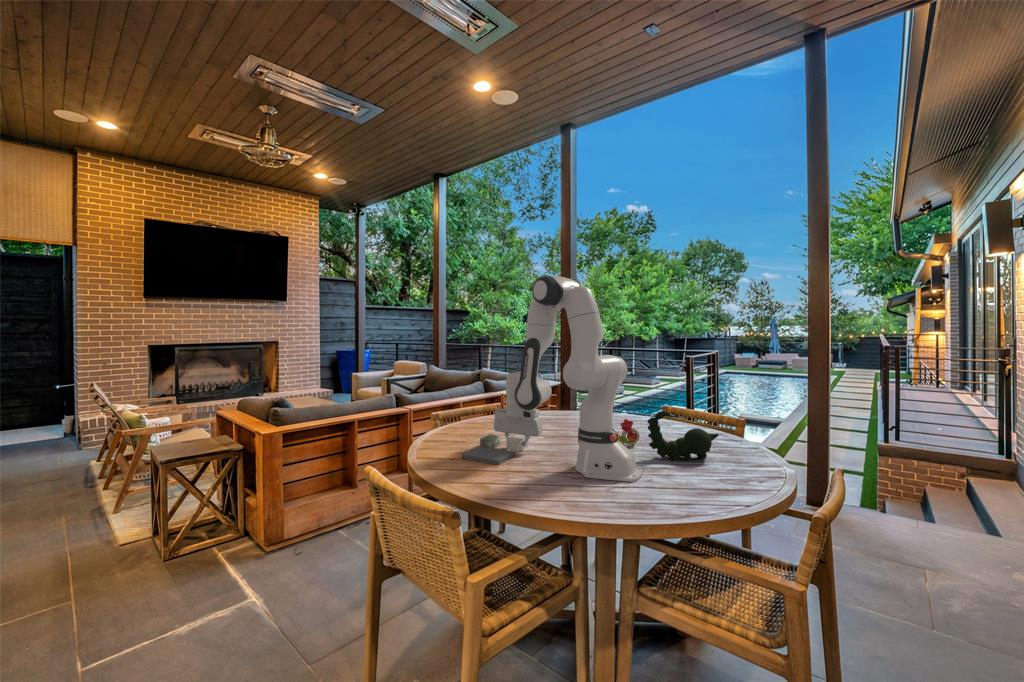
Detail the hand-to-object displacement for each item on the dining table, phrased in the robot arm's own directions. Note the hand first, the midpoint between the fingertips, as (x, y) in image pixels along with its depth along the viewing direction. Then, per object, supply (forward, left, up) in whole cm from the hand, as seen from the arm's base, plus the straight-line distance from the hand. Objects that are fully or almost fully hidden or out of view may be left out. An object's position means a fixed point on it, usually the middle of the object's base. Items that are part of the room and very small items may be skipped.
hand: (517, 444), depth 177 cm
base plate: (+5, +14, -2) cm, 15 cm away
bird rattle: (-38, -23, -2) cm, 44 cm away
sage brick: (+11, +3, -2) cm, 12 cm away
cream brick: (0, 0, -2) cm, 2 cm away
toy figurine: (-60, -16, -2) cm, 62 cm away
